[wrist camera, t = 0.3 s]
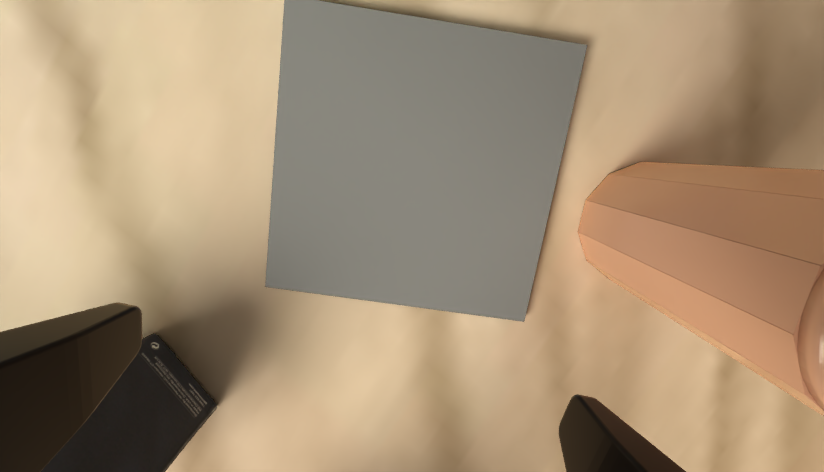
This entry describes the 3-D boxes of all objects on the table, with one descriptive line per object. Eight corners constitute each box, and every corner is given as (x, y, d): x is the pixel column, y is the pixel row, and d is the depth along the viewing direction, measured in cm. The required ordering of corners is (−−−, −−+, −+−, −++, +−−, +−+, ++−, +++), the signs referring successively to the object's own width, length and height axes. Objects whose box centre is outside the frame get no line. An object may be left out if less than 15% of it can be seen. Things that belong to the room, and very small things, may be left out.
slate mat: (521, 317, 23) (524, 321, 22) (269, 283, 22) (265, 286, 22) (581, 48, 19) (587, 44, 19) (288, -1, 19) (284, -6, 18)
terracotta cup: (679, 288, 22) (1034, 469, 10) (567, 273, 22) (780, 436, 9) (716, 173, 21) (1189, 207, 8) (596, 154, 21) (895, 161, 8)
